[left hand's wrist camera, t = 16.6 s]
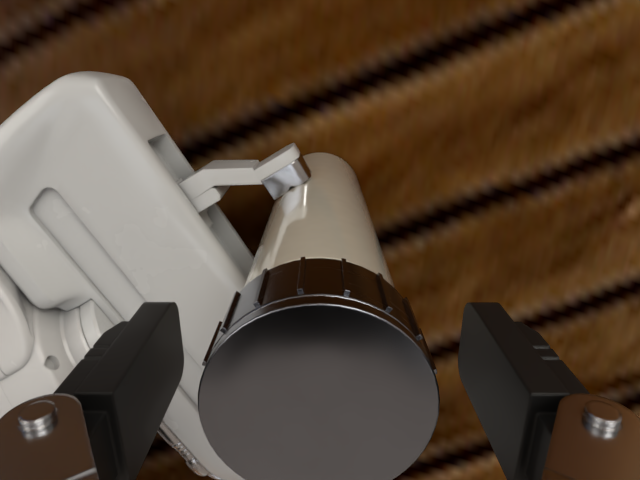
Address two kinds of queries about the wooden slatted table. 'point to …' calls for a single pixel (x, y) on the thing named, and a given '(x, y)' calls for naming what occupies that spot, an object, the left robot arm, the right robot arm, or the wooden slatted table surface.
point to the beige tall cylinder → (321, 221)
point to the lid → (318, 377)
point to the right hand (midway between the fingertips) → (337, 215)
